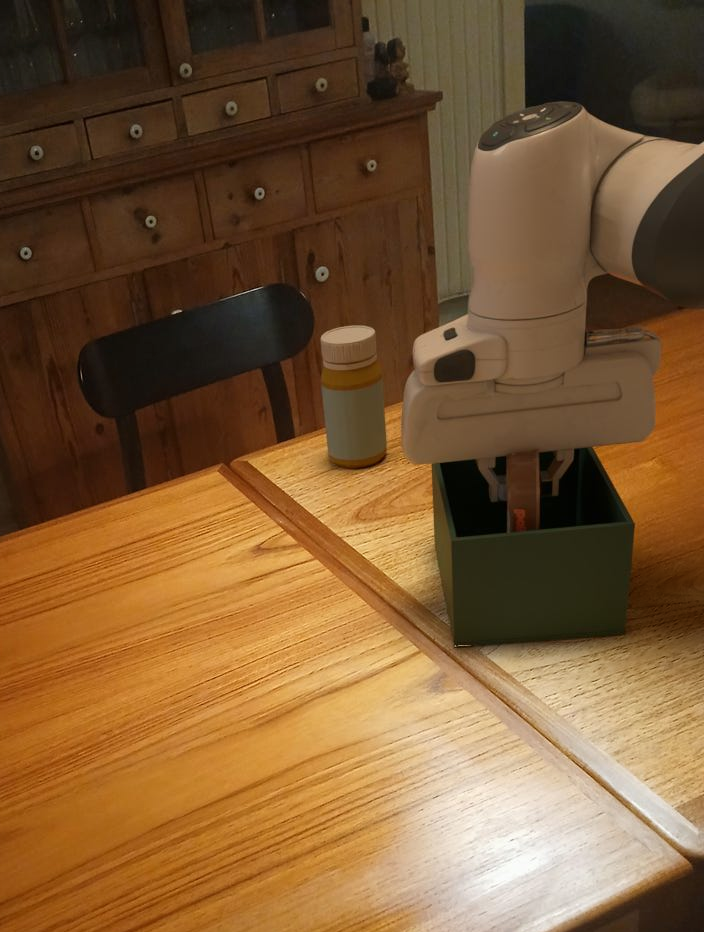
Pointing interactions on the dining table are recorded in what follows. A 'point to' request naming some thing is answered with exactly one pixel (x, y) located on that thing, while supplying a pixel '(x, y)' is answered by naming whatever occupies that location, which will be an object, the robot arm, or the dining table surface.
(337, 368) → the bottle
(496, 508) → the green hinged-lid box
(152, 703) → the dining table surface
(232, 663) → the dining table surface
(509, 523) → the tin
